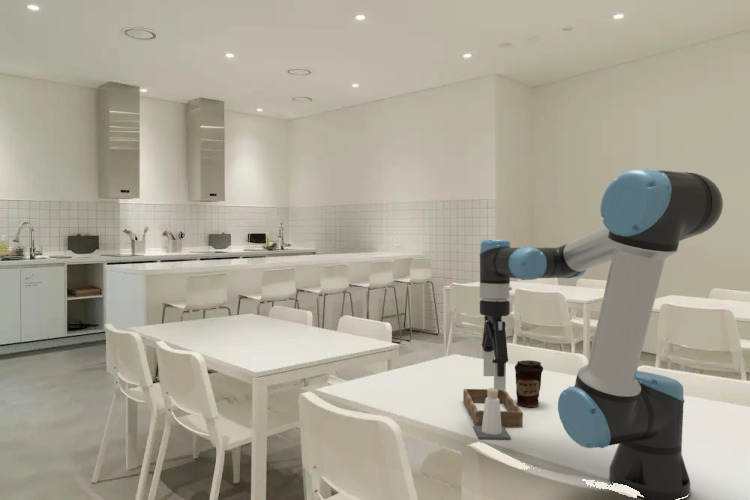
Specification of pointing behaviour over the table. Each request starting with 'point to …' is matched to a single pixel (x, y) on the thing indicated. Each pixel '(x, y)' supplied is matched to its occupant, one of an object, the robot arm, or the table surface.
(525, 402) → the coffee cup
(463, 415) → the table surface
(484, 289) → the robot arm
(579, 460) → the table surface
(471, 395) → the tray
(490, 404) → the salt shaker
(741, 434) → the table surface
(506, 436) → the mat
